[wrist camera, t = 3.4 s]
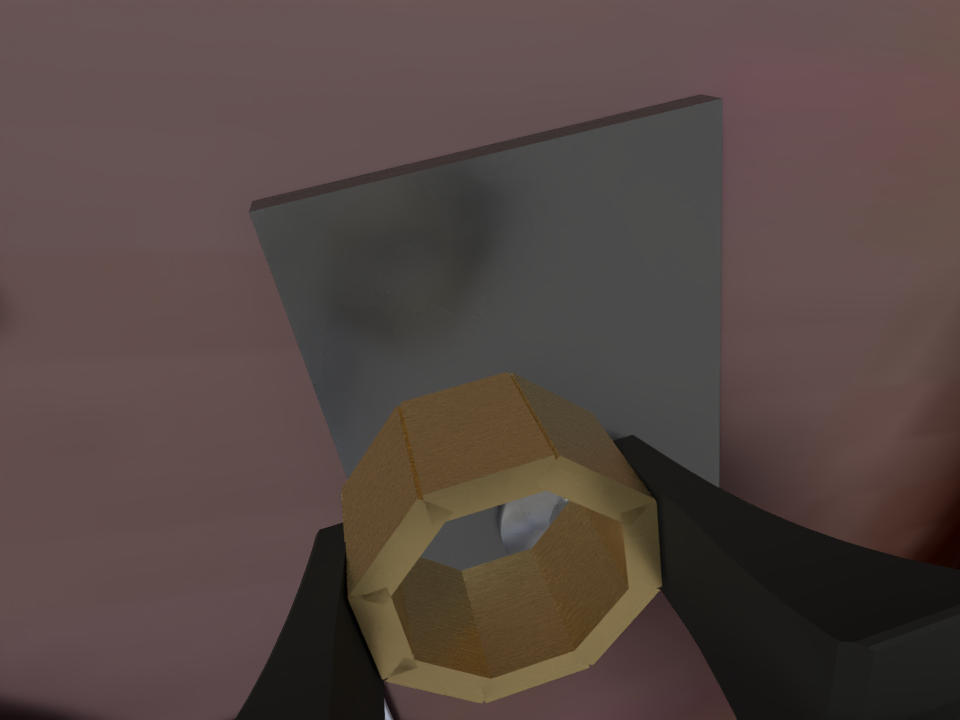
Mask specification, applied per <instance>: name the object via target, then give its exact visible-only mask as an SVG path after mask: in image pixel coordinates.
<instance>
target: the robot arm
mask: <svg viewBox="0 0 960 720" xmlns="http://www.w3.org/2000/svg"><path fill="white" fill-rule="evenodd" d="M613 442H614V444H615V445H616V446H617V448H618V449H619V450H620V452H621V453H622V455H623V456H624V458H625V459H626V460H627V462H628V463H629V465H630V466H631V467H632V468H633V470H634V471H635V473H636V474H637V475H638V477H639V478H640V480H641V481H642V482H643V484H644V485H645V486H646V488H647V489H648V491H649V492H650V493H651V495H652V496H653V498H654V499H655V500H656V502H657V516H658V532H659V547H660V562H661V578H662V587H660V589H661V590H662V592H663V593H664V595H665V596H666V598H667V599H668V601H669V602H670V604H671V605H672V607H673V608H674V610H675V611H676V613H677V614H678V616H679V617H680V619H681V620H682V621H683V623H684V624H685V626H686V627H687V629H688V630H689V632H690V634H691V635H692V637H693V639H694V640H695V642H696V643H697V645H698V647H699V648H700V650H701V652H702V654H703V656H704V657H705V659H706V661H707V663H708V665H709V667H710V668H711V670H712V672H713V674H714V676H715V678H716V680H717V681H718V683H719V685H720V687H721V689H722V691H723V693H724V695H725V697H726V698H727V700H728V702H729V704H730V706H731V708H732V710H733V712H734V714H735V716H736V718H737V720H960V570H957V569H952V568H947V567H942V566H938V565H933V564H928V563H924V562H919V561H914V560H909V559H905V558H901V557H897V556H894V555H890V554H886V553H883V552H879V551H875V550H872V549H868V548H865V547H861V546H858V545H855V544H851V543H848V542H845V541H842V540H839V539H836V538H833V537H830V536H827V535H825V534H822V533H819V532H816V531H813V530H810V529H808V528H805V527H802V526H800V525H797V524H795V523H792V522H790V521H788V520H785V519H783V518H781V517H778V516H776V515H773V514H771V513H769V512H766V511H764V510H762V509H760V508H758V507H756V506H753V505H751V504H749V503H747V502H745V501H743V500H741V499H739V498H738V497H736V496H734V495H732V494H730V493H728V492H726V491H724V490H722V489H720V488H719V487H717V486H715V485H713V484H712V483H710V482H708V481H706V480H705V479H703V478H701V477H700V476H698V475H696V474H694V473H693V472H691V471H689V470H688V469H686V468H685V467H683V466H681V465H680V464H678V463H676V462H675V461H673V460H672V459H670V458H669V457H667V456H665V455H664V454H662V453H661V452H659V451H658V450H656V449H655V448H653V447H652V446H650V445H648V444H647V443H645V442H644V441H642V440H641V439H639V438H637V437H636V436H634V435H630V436H627V437H623V438H620V439H617V440H613ZM235 720H394V719H393V717H392V715H391V712H390V710H389V708H388V705H387V703H386V701H385V698H384V684H383V679H382V678H381V675H380V673H379V671H378V668H377V666H376V664H375V661H374V659H373V657H372V654H371V652H370V650H369V647H368V645H367V643H366V640H365V638H364V636H363V633H362V631H361V629H360V626H359V624H358V622H357V619H356V617H355V615H354V612H353V610H352V608H351V605H350V603H349V601H348V590H347V574H346V542H344V526H343V523H340V524H337V525H334V526H330V527H327V528H324V529H320V530H319V532H318V533H317V535H316V538H315V541H314V545H313V548H312V551H311V555H310V558H309V561H308V564H307V567H306V570H305V573H304V575H303V578H302V581H301V584H300V587H299V589H298V592H297V594H296V597H295V599H294V602H293V605H292V607H291V610H290V612H289V615H288V617H287V620H286V622H285V624H284V626H283V628H282V631H281V633H280V635H279V637H278V639H277V642H276V644H275V646H274V648H273V650H272V653H271V655H270V657H269V659H268V661H267V663H266V665H265V667H264V669H263V671H262V673H261V675H260V676H259V678H258V680H257V682H256V684H255V686H254V687H253V689H252V691H251V693H250V695H249V696H248V698H247V700H246V702H245V703H244V705H243V707H242V708H241V710H240V712H239V713H238V715H237V717H236V718H235Z"/></svg>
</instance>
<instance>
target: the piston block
mask: <svg viewBox="0 0 960 720" xmlns="http://www.w3.org/2000/svg"><path fill="white" fill-rule="evenodd" d="M721 209H722V98H717V97H712V96H706V95H697V96H693V97H689V98H685V99H680V100H676V101H672V102H668V103H664V104H659V105H655V106H651V107H647V108H643V109H638V110H634V111H630V112H626V113H622V114H617V115H613V116H609V117H605V118H601V119H596V120H592V121H588V122H584V123H580V124H575V125H571V126H567V127H563V128H559V129H554V130H550V131H546V132H542V133H538V134H533V135H529V136H525V137H521V138H517V139H512V140H508V141H504V142H500V143H496V144H491V145H487V146H483V147H479V148H475V149H470V150H466V151H462V152H458V153H454V154H449V155H445V156H441V157H437V158H433V159H428V160H424V161H420V162H416V163H412V164H407V165H403V166H399V167H395V168H391V169H386V170H382V171H378V172H374V173H370V174H365V175H361V176H357V177H353V178H349V179H344V180H340V181H336V182H332V183H328V184H323V185H319V186H315V187H311V188H307V189H302V190H298V191H294V192H290V193H286V194H281V195H277V196H273V197H269V198H265V199H260V200H256V201H253V202H252V205H251V208H250V211H249V213H250V216H251V218H252V221H253V224H254V227H255V229H256V232H257V235H258V237H259V240H260V243H261V246H262V248H263V251H264V254H265V256H266V259H267V262H268V265H269V267H270V270H271V273H272V275H273V278H274V281H275V284H276V286H277V289H278V292H279V294H280V297H281V300H282V303H283V305H284V308H285V311H286V313H287V316H288V319H289V322H290V324H291V327H292V330H293V332H294V335H295V338H296V340H297V343H298V346H299V349H300V351H301V354H302V357H303V359H304V362H305V365H306V368H307V370H308V373H309V376H310V378H311V381H312V384H313V387H314V389H315V392H316V395H317V397H318V400H319V403H320V406H321V408H322V411H323V414H324V416H325V419H326V422H327V425H328V427H329V430H330V433H331V435H332V438H333V441H334V444H335V446H336V449H337V452H338V454H339V457H340V460H341V462H342V465H343V468H344V471H345V473H346V476H347V479H348V478H349V477H350V475H351V474H352V472H353V471H354V469H355V468H356V466H357V465H358V463H359V462H360V460H361V459H362V457H363V456H364V454H365V453H366V451H367V450H368V448H369V446H370V445H371V443H372V442H373V440H374V439H375V437H376V436H377V434H378V433H379V431H380V430H381V428H382V427H383V425H384V424H385V422H386V421H387V419H388V418H389V416H390V415H391V413H392V412H393V410H394V409H395V407H396V406H397V405H398V406H401V402H403V401H406V400H410V399H413V398H417V397H420V396H424V395H427V394H431V393H434V392H438V391H441V390H445V389H448V388H452V387H455V386H459V385H462V384H466V383H469V382H473V381H476V380H480V379H483V378H487V377H490V376H494V375H497V374H501V373H504V372H508V373H509V375H510V374H511V373H512V372H513V373H515V374H517V375H519V376H521V377H523V378H524V379H526V380H528V381H530V382H532V383H534V384H536V385H538V386H540V387H542V388H544V389H546V390H548V391H550V392H552V393H554V394H556V395H558V396H560V397H562V398H563V399H565V400H567V401H569V402H571V403H573V404H575V405H577V406H579V407H581V408H583V409H585V410H587V411H589V412H591V413H593V415H594V416H595V417H596V419H597V420H598V421H599V423H600V424H601V426H602V427H603V428H604V430H605V431H606V432H607V434H608V435H609V437H610V438H611V439H612V441H613V440H617V439H620V438H623V437H627V436H630V435H634V436H636V437H637V438H639V439H641V440H642V441H644V442H645V443H647V444H648V445H650V446H652V447H653V448H655V449H656V450H658V451H659V452H661V453H662V454H664V455H665V456H667V457H669V458H670V459H672V460H673V461H675V462H676V463H678V464H680V465H681V466H683V467H685V468H686V469H688V470H689V471H691V472H693V473H694V474H696V475H698V476H700V477H701V478H703V479H705V480H706V481H708V482H710V483H712V484H713V485H715V486H717V487H719V453H720V331H721ZM401 407H402V406H401ZM569 501H570V500H568V499H565V498H563V497H560V496H558V495H556V494H553V493H551V492H549V491H544V492H540V493H537V494H534V495H531V496H527V497H524V498H521V499H518V500H514V501H511V502H508V503H505V504H501V505H498V506H495V507H492V508H489V509H485V510H482V511H479V512H476V513H472V514H469V515H466V516H463V517H459V518H456V519H453V520H450V521H446V522H445V523H444V525H443V526H442V527H441V529H440V530H439V531H438V533H437V534H436V536H435V537H434V538H433V540H432V541H431V542H430V544H429V545H428V546H427V548H426V549H425V551H424V552H423V553H422V555H421V556H420V557H422V558H425V559H428V560H431V561H434V562H437V563H440V564H443V565H446V566H449V567H452V568H455V569H458V570H461V571H462V570H465V569H468V568H471V567H475V566H478V565H481V564H484V563H487V562H490V561H493V560H497V559H500V558H503V557H506V556H509V555H512V554H515V553H519V552H522V551H525V550H528V549H531V548H532V547H533V546H534V545H535V544H536V542H537V541H538V540H539V539H540V537H541V536H542V535H543V534H544V532H545V531H546V530H547V529H548V527H549V526H550V525H551V524H552V522H553V521H554V520H555V519H556V517H557V516H558V515H559V514H560V512H561V511H562V510H563V509H564V507H565V506H566V505H567V504H568V502H569Z"/></svg>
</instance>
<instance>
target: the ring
mask: <svg viewBox="0 0 960 720" xmlns="http://www.w3.org/2000/svg"><path fill="white" fill-rule="evenodd" d="M401 406H402V407H401ZM401 406H398V405H397V406H396V407H395V409H394V410H393V412H392V413H391V415H390V416H389V418H388V419H387V421H386V422H385V424H384V425H383V427H382V428H381V430H380V431H379V433H378V434H377V436H376V437H375V439H374V440H373V442H372V443H371V445H370V446H369V448H368V450H367V451H366V453H365V454H364V456H363V457H362V459H361V460H360V462H359V463H358V465H357V466H356V468H355V469H354V471H353V472H352V474H351V475H350V477H349V478H348V480H347V481H346V483H345V484H344V486H343V487H342V491H341V494H342V510H343V526H344V542H346V574H347V590H348V601H349V603H350V605H351V608H352V610H353V612H354V615H355V617H356V619H357V622H358V624H359V626H360V629H361V631H362V633H363V636H364V638H365V640H366V643H367V645H368V647H369V650H370V652H371V654H372V657H373V659H374V661H375V664H376V666H377V668H378V671H379V673H380V675H381V678H382V679H385V682H390V683H394V684H398V685H403V686H407V687H412V688H416V689H420V690H425V691H429V692H434V693H438V694H442V695H447V696H451V697H456V698H460V699H464V700H469V701H473V702H478V703H482V702H483V701H484V700H485V702H486V703H488V702H491V701H494V700H497V699H499V698H502V697H505V696H508V695H511V694H514V693H517V692H520V691H523V690H526V689H529V688H531V687H534V686H537V685H540V684H543V683H546V682H549V681H552V680H555V679H558V678H561V677H563V676H566V675H569V674H572V673H575V672H578V671H581V670H584V669H587V668H589V664H591V665H594V663H595V662H596V661H597V660H598V659H599V658H600V657H601V656H602V654H603V653H604V652H605V651H606V650H607V649H608V648H609V647H610V646H611V644H612V643H613V642H614V641H615V640H616V639H617V638H618V637H619V635H620V634H621V633H622V632H623V631H624V630H625V629H626V628H627V627H628V625H629V624H630V623H631V622H632V621H633V620H634V619H635V618H636V617H637V615H638V614H639V613H640V612H641V611H642V610H643V609H644V608H645V606H646V605H647V604H648V603H649V602H650V601H651V600H652V599H653V598H654V596H655V595H656V594H657V593H658V592H659V591H660V588H659V587H662V578H661V562H660V547H659V532H658V516H657V502H656V500H655V499H654V498H653V496H652V495H651V493H650V492H649V491H648V489H647V488H646V486H645V485H644V484H643V482H642V481H641V480H640V478H639V477H638V475H637V474H636V473H635V471H634V470H633V468H632V467H631V466H630V465H629V463H628V462H627V460H626V459H625V458H624V456H623V455H622V453H621V452H620V450H619V449H618V448H617V446H616V445H615V444H614V442H613V441H612V439H611V438H610V437H609V435H608V434H607V432H606V431H605V430H604V428H603V427H602V426H601V424H600V423H599V421H598V420H597V419H596V417H595V416H594V415H593V413H591V412H589V411H587V410H585V409H583V408H581V407H579V406H577V405H575V404H573V403H571V402H569V401H567V400H565V399H563V398H562V397H560V396H558V395H556V394H554V393H552V392H550V391H548V390H546V389H544V388H542V387H540V386H538V385H536V384H534V383H532V382H530V381H528V380H526V379H524V378H523V377H521V376H519V375H517V374H515V373H513V372H512V373H511V374H510V375H509V373H508V372H504V373H501V374H497V375H494V376H490V377H487V378H483V379H480V380H476V381H473V382H469V383H466V384H462V385H459V386H455V387H452V388H448V389H445V390H441V391H438V392H434V393H431V394H427V395H424V396H420V397H417V398H413V399H410V400H406V401H403V402H401ZM544 491H549V492H551V493H553V494H556V495H558V496H560V497H563V498H565V499H568V500H570V501H569V502H568V504H567V505H566V506H565V507H564V509H563V510H562V511H561V512H560V514H559V515H558V516H557V517H556V519H555V520H554V521H553V522H552V524H551V525H550V526H549V527H548V529H547V530H546V531H545V532H544V534H543V535H542V536H541V537H540V539H539V540H538V541H537V542H536V544H535V545H534V546H533V547H532V548H531V549H528V550H525V551H522V552H519V553H515V554H512V555H509V556H506V557H503V558H500V559H497V560H493V561H490V562H487V563H484V564H481V565H478V566H475V567H471V568H468V569H465V570H462V571H461V570H458V569H455V568H452V567H449V566H446V565H443V564H440V563H437V562H434V561H431V560H428V559H425V558H422V557H420V556H421V555H422V553H423V552H424V551H425V549H426V548H427V546H428V545H429V544H430V542H431V541H432V540H433V538H434V537H435V536H436V534H437V533H438V531H439V530H440V529H441V527H442V526H443V525H444V523H445V522H446V521H450V520H453V519H456V518H459V517H463V516H466V515H469V514H472V513H476V512H479V511H482V510H485V509H489V508H492V507H495V506H498V505H501V504H505V503H508V502H511V501H514V500H518V499H521V498H524V497H527V496H531V495H534V494H537V493H540V492H544Z"/></svg>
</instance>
